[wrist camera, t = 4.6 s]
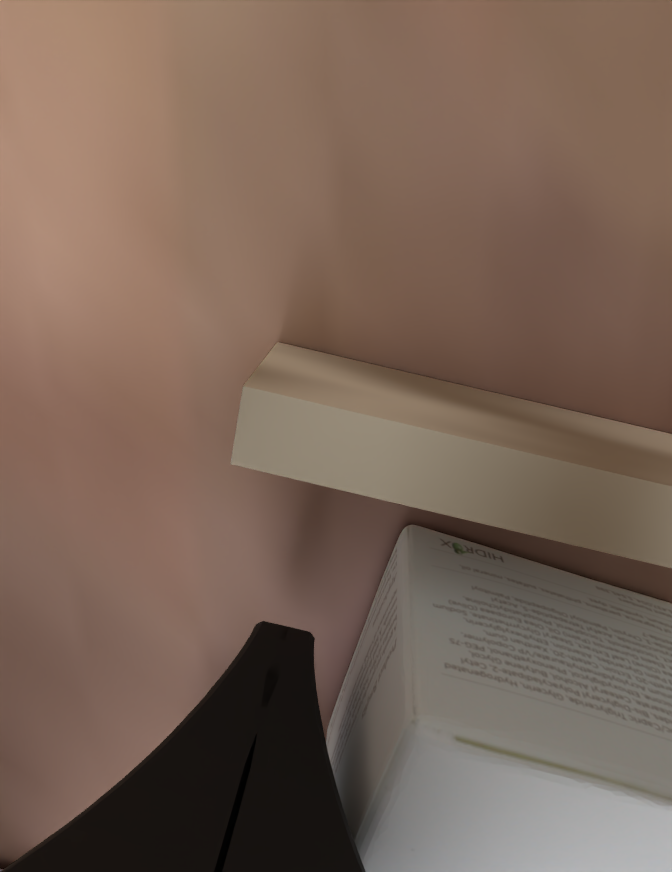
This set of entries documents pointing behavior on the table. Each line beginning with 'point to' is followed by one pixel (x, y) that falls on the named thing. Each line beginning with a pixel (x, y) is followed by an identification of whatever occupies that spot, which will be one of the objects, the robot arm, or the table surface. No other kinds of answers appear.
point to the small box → (505, 718)
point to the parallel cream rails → (459, 452)
